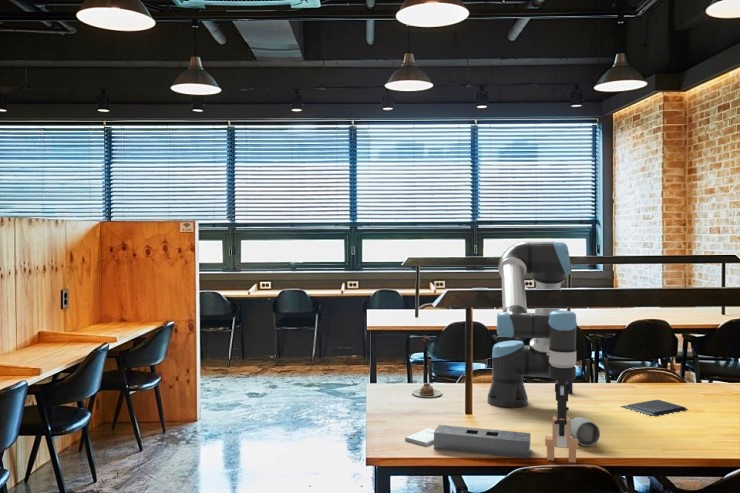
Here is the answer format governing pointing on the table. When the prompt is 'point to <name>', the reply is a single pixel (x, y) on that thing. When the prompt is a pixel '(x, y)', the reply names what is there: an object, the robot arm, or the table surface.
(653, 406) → the dark gray flat slab
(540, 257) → the robot arm
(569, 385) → the flask
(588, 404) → the table surface
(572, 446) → the tan wooden block
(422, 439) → the external hard drive
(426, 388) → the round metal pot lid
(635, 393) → the table surface
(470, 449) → the rail
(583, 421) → the ceramic mug
